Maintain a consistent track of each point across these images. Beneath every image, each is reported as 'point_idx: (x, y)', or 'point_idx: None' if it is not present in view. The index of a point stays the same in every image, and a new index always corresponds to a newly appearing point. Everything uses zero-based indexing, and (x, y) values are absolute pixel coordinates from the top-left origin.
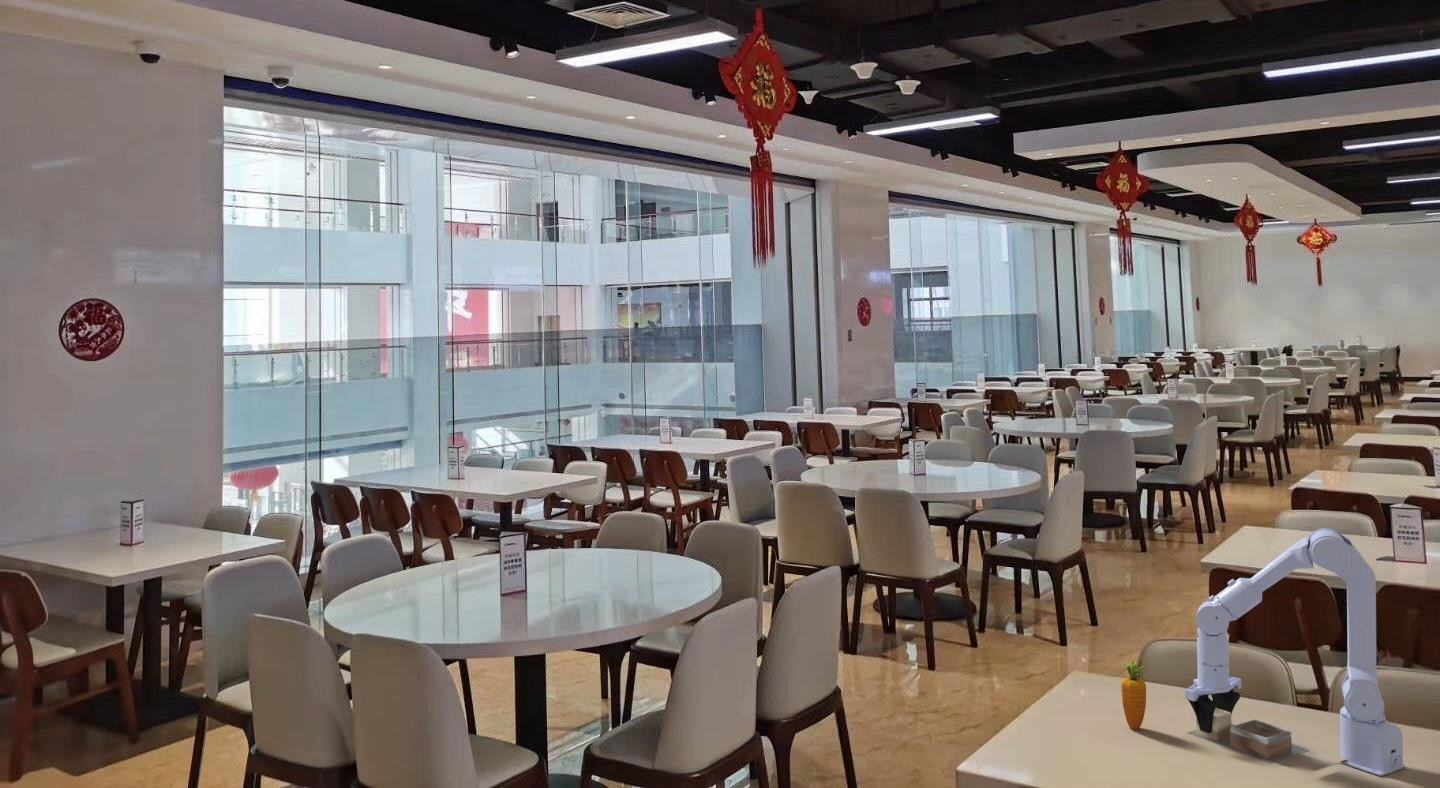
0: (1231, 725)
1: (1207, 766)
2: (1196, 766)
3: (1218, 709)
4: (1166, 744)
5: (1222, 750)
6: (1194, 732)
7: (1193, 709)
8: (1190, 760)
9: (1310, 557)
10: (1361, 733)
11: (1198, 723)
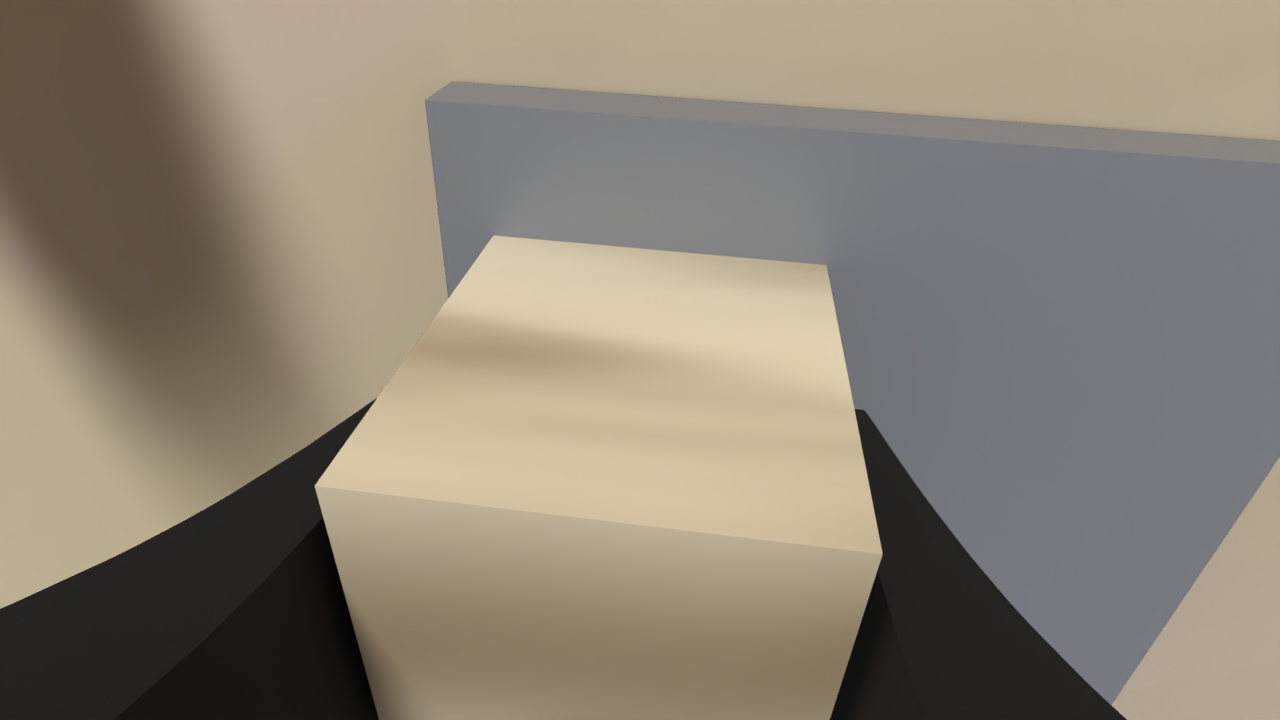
0: (1273, 332)
1: None
2: (39, 524)
3: (784, 698)
4: (27, 70)
5: None
6: (531, 170)
7: (100, 566)
8: (57, 450)
9: None
10: None
11: (361, 411)
